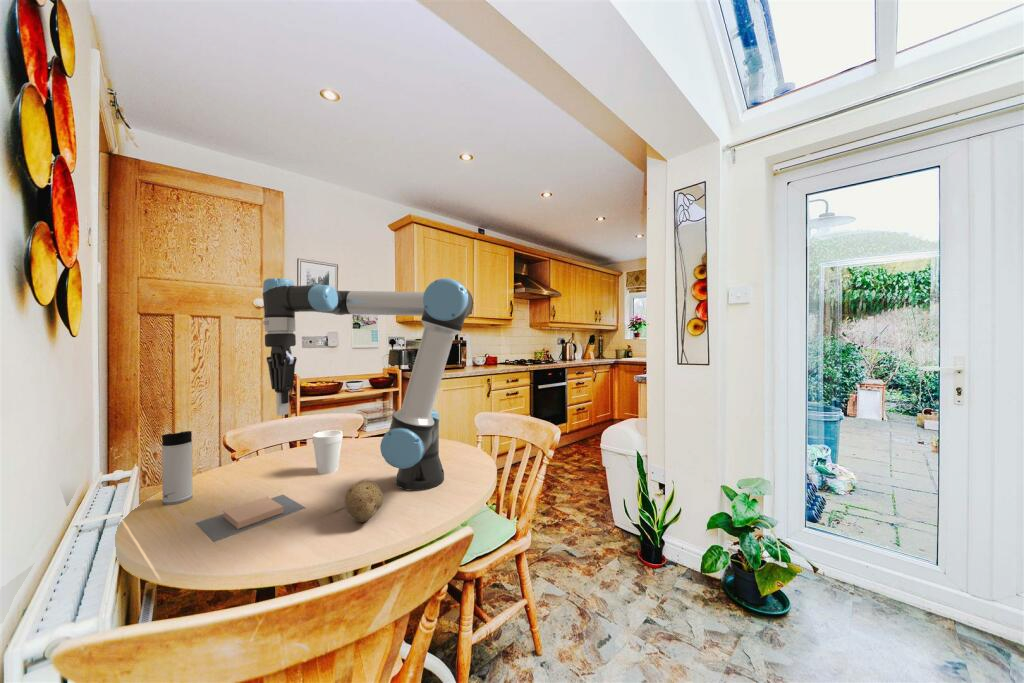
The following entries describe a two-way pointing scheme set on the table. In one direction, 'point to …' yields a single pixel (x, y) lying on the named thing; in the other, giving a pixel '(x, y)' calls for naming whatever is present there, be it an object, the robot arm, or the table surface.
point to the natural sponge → (363, 500)
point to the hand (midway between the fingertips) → (283, 414)
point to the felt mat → (223, 528)
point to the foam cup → (327, 450)
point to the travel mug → (177, 468)
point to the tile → (252, 512)
